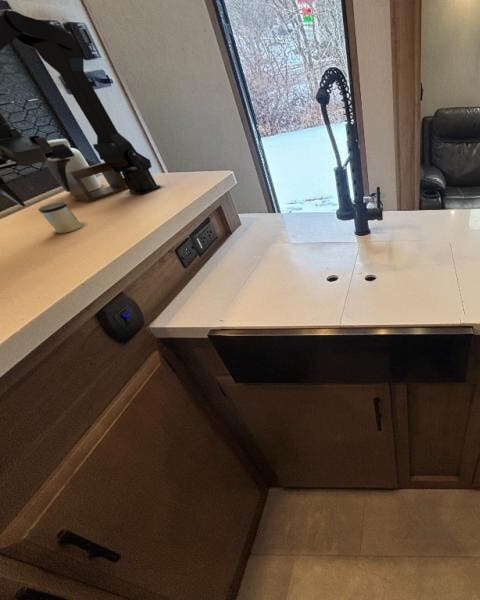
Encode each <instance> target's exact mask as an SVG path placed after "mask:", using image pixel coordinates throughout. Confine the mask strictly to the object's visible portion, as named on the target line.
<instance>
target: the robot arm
mask: <svg viewBox="0 0 480 600" xmlns="http://www.w3.org/2000/svg"><path fill="white" fill-rule="evenodd" d="M15 40H16V41H17V42H19V43H20V44H21V45H24V46H26V47H29V48H31V49H34V50H35V51H36V52H37V54H38V55H39V57H41V60H43V61H44V62H45V63H46V64H48V65H49V66H50V67H51V68H52V69H53V70H55V71H56V72H57V73H58V74H59V75H60V77H61V79H62V80H63V82H64V83H65V85H66V87H67V89H68V90H69V92H70V94H71V95H72V97H73V98H74V100H75V102H76V103H77V105H78V106H79V108H80V110H81V112H82V113H83V115H84V117H85V118H86V120H87V122H88V123H89V125H90V127H91V128H92V130H93V132H94V133H95V136H96V143H93V144H92V146H93V149H94V150H95V151H96V152H97V154H98V156H99V160H101V161H103V163H104V162H105V163H106V164H107V165H109V166H111V167H112V168H113V169H114V171H115V172H117V173H118V172H120V173H121V174H122V176H123V180H124V181H125V183H126V185H127V186H128V192H129V193H132V194H141V195H143V194H147V193H148V192H151V191H155V190H156V189H159V188H161V185H160V184H157V182H156V180H155V179H154V177H153V175H152V173H151V172H150V169H152V162H151V160H150V159H149V158H147V157H145V156H144V155H143V154H141V153H139V152H138V151H137V150H136V149H135V147H134V146H133V145H132V142H130V141H129V140H128V139H127V138H126V137H125V136H123V135H122V134H121V133H120V132H119V131H118V130H117V128H116V126H115V125H114V123H113V120H112V119H111V117H110V116H109V115H110V114H108V112H107V110H106V109H105V106H104V104H103V102H102V101H101V99H100V97H99V96H98V94H97V92H96V90H95V89H94V87H93V86H92V85H93V84H92V83H91V82H90V79H89V78H88V76H87V74H86V73H85V71H84V69H85V68H84V55H83V53H82V51H81V49H80V46H79V44H78V42H77V39H76V38H75V37H74V35H73V34H72V33H71V31H68V30H67V29H65V27H62V26H60V25H58V24H52V23H49V22H46V21H44V20H40V19H37V18H34V17H30V16H27V15H24V14H22V13H20V12H18V11H15V10H12V9H8V8H7V9H5V8H4V9H0V52H1V51H2V50H3V49H5V48H6V47H7V46H9V44H11V43H12V42H14V41H15ZM0 97H2V94H1V93H0ZM47 141H48V140H47V138H45V136H43V135H41V134H35V135H30V136H29V137H27V138H25V137H24V136H23V135H22V134H21V132H20V131H19V130H18V129H17V128H13V126H12V125H11V124H10V122H9V121H8V120H7V118H6V117H5V115H4V114H3V113H2V112H1V110H0V171H2V170H5V169H9V168H14V167H18V166H19V167H31V166H32V165H34V164H35V165H36V164H39V163H42V164H43V163H44V164H45V166H46V167H47V168H48V170H49V171H50V173H51V175H52V176H53V177H54V178H55V180H56V181H57V183H58V184H59V185H60V186H61V188H62V189H63V190H64V191H65V192H67V193H70V188H69V184H68V180H67V176H66V169H65V167H66V164H67V162H69V161H70V159H66V158H69V157H72V156H75V155H74V154H73V152H72V151H71V149H70V148H71V147H70V148H69V147H68V146H66V145H64V144H58V143H51V144H49V143H48V142H47ZM0 193H1V194H2V195H4V196H5V197H6V198H8V199H10V200H11V201H12V202H14V203H16V204H18V205H19V206H20V207H26V204H25V203H24V202H23V200H22V199H21V198H20V197H19V196H18V195H17V194H16V193H15V192H14V191H13V190H12V189H11V187H10V186H9V185H8V184H6V182H5V180H4V179H3V176H0Z"/></svg>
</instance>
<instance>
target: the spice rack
mask: <svg viewBox="0 0 480 600" xmlns="http://www.w3.org/2000/svg"><path fill="white" fill-rule="evenodd" d="M99 174H102V176H103V177H104V179H105V181H106V182H107V183H108V186H105V187H103V188H102V187H101V188H99V189H97V190H94V191H91V192H89V191H88V190H87V188H86V187H85V185H84V184H83V182H82V181H81V179H82V178H85V177H89V176H92V175H95V176H96V175H99ZM66 176H67V180H68V184H69V188H70V192H69V193H70V194H71V196H72V197H73V198H74V200H75V201H83V202H90V203H92V202H95V201H96V200H99V199H101V198H102V199H103V198H104V197H105V198H106V197H107V196H110V195H113V194H116V193H119V192H121V191H125V190H129V188H128V186H127V185H126V183H125V181H124V180H123V178H124V177H123V175H122V172H118V173H117V172H115V171H114V169H113V168H112V167H111V166H109V165H107V164H106V163H105V162H104V161H103V162H99V163H95V164H93V165H89V167H85V168H81V169H78V170H74V171H71V172H67V173H66Z"/></svg>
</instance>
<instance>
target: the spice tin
mask: <svg viewBox="0 0 480 600" xmlns="http://www.w3.org/2000/svg"><path fill="white" fill-rule="evenodd" d="M38 211H39V213H41V214H42V216H43V217H44V218H45V219H46V221H47V222H48V223H49V224H50V226H51V227H52V228H53V229H54V230H55V231H56V233H58V234H65V233H66V234H67V233H70V232H73V231H76V230H78V229H80V228H82V227H83V225H82V224H81V222H80V220H79V219H78V218H77V216H76V215H75V214H74V213H73V211H72V210H71V208H70V207H69V206H68V204H67V202H66V201H57V202H52V203H48V204H45V205H42V206H40V207H39V208H38Z"/></svg>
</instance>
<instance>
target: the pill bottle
mask: <svg viewBox="0 0 480 600" xmlns="http://www.w3.org/2000/svg"><path fill="white" fill-rule="evenodd" d="M47 142H48V143H49V144H51V143H58V144H64V145H66V146H68V147H69V148H70V149H71V151H72V152H73V154H74V155H75V156H72V157H69V158H66V159H70V161H69V162H67V164H66V167H65V169H66V173H67V172H71V171H74V170H78V169H81V168H85V167H89V166H90V165H89V164H88V162H87V160H86V159H85V157H84V156H83V154H82V152H81V151H80V150H78V149H77V148H74V147H71V144H70V142H69V141H68V139H67V138H57V139H50V140H47ZM81 181H82V182H83V184H84V185H85V187H86V188H87V190H88V191H89V193H90V192H93V191H96V190H99V189H101V188H102V185H101V183H100V180H98V178H97V176H96V174H95V175H92V176H89V177H85V178H82V179H81Z"/></svg>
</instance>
